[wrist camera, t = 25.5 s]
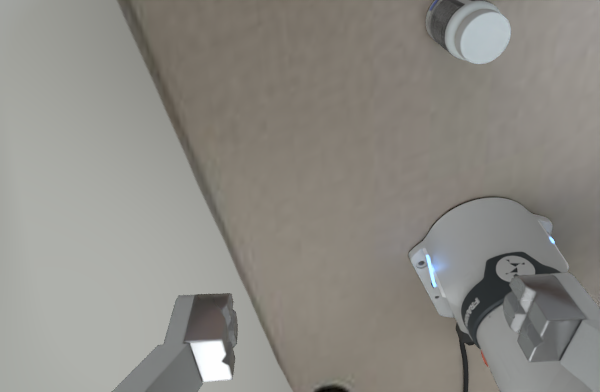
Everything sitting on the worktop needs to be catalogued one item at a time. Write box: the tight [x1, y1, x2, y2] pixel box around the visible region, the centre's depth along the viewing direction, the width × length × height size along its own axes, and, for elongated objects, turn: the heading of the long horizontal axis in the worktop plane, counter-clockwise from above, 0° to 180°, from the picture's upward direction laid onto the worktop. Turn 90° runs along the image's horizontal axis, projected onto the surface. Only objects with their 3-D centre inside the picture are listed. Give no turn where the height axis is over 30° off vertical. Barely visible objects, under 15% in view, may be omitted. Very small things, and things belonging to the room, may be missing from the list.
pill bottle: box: [426, 0, 511, 64], centre depth 35 cm, size 5×5×8 cm
